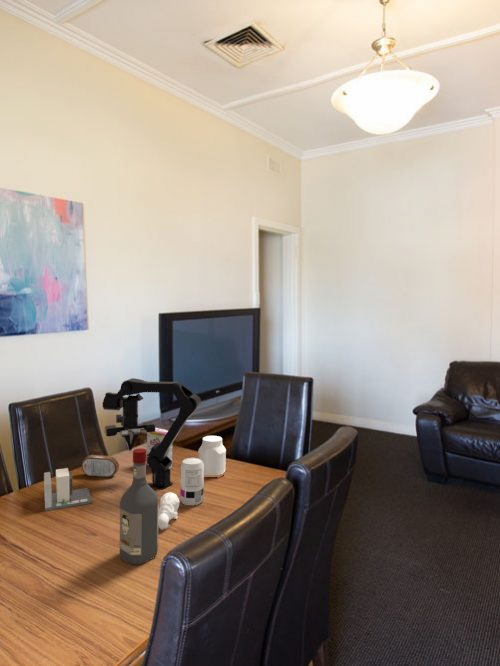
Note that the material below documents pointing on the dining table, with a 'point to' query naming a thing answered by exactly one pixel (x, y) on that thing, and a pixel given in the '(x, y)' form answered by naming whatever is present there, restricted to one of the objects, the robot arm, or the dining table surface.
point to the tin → (100, 466)
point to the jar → (213, 455)
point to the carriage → (63, 485)
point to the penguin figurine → (167, 509)
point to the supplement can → (192, 481)
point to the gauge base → (74, 500)
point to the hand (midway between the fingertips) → (130, 450)
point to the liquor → (139, 516)
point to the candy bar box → (157, 441)
